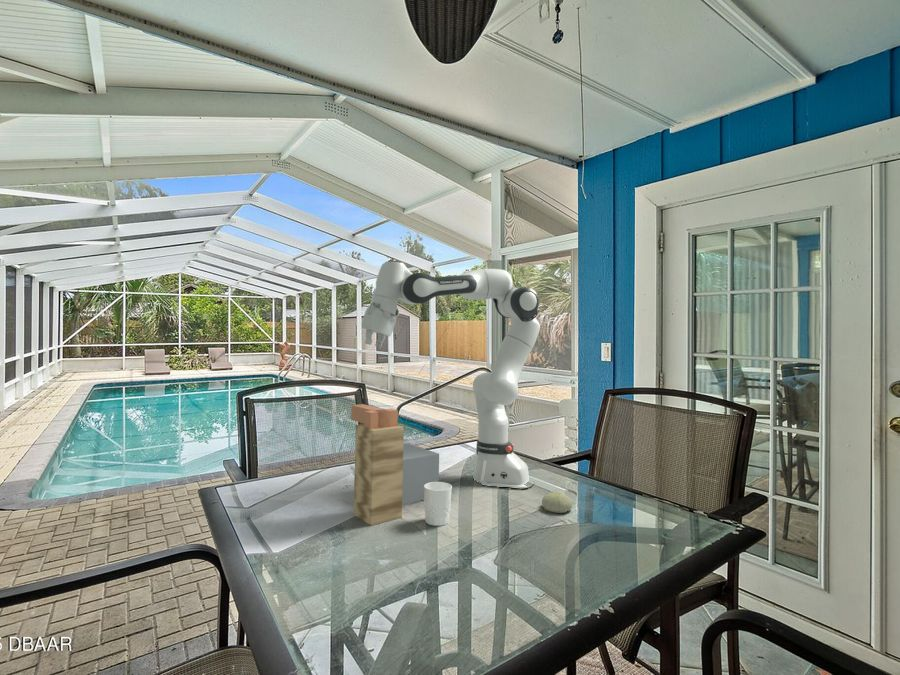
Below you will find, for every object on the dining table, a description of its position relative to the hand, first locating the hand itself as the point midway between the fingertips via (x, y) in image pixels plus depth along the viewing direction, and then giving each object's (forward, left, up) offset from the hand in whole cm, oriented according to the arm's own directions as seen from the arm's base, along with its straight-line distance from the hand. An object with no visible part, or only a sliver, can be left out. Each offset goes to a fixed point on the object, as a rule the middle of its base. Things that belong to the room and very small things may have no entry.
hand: (373, 345), depth 162 cm
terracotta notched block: (-11, +18, -23) cm, 31 cm away
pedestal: (-16, +21, -49) cm, 55 cm away
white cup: (-33, +17, -49) cm, 61 cm away
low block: (-13, 0, -49) cm, 50 cm away
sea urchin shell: (-62, -8, -49) cm, 79 cm away
